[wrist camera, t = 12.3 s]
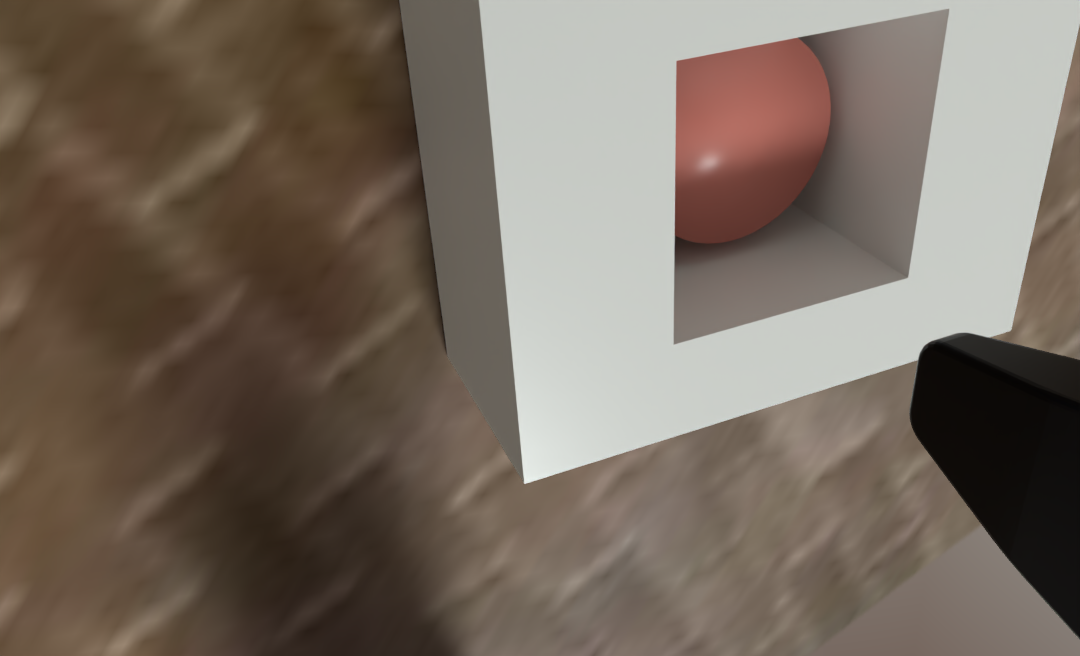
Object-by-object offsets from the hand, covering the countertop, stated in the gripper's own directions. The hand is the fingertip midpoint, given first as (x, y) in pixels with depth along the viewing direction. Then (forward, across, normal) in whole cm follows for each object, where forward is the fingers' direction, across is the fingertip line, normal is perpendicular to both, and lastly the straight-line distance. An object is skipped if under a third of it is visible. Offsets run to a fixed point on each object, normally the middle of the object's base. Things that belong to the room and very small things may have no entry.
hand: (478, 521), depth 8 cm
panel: (+13, -9, +2) cm, 16 cm away
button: (+12, -9, +2) cm, 16 cm away
